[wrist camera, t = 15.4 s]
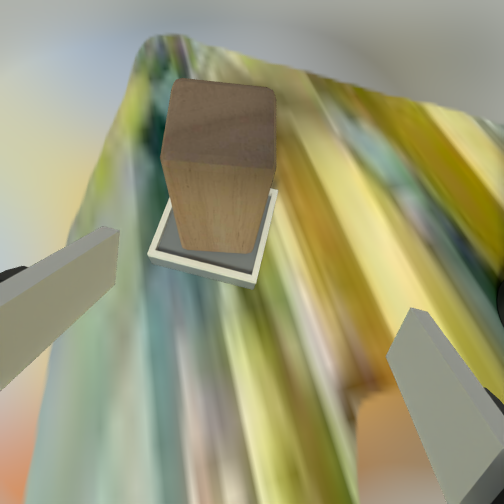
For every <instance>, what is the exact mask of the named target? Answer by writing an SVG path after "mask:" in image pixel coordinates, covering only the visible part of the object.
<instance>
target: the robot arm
mask: <svg viewBox="0 0 504 504" xmlns="http://www.w3.org/2000/svg"><path fill="white" fill-rule="evenodd" d="M119 234H120V230H116V229H113V228H109V227H105V226H102V227H100V228H98V229H97V230H95V231H93V232H91V233H89V234H88V235H86V236H84V237H82V238H80V239H79V240H77V241H75V242H73V243H71V244H70V245H68V246H66V247H64V248H62V249H61V250H59V251H57V252H55V253H53V254H52V255H50V256H48V257H46V258H45V259H43V260H41V261H39V262H37V263H35V264H34V265H32V266H30V267H25V266H21V267H17V268H13V269H9V270H6V271H4V272H2V273H0V391H1V390H2V389H3V388H5V387H6V386H7V385H8V384H9V383H10V382H11V381H12V380H13V379H14V378H15V377H16V376H17V375H18V374H20V373H21V372H22V371H23V370H24V369H25V368H26V367H27V366H28V365H29V364H30V363H31V362H32V361H33V360H35V359H36V358H37V357H38V356H39V355H40V354H41V353H42V352H43V351H44V350H45V349H46V348H47V347H48V346H50V345H51V344H52V343H53V342H54V341H55V340H56V339H57V338H58V337H59V336H60V335H61V334H62V333H63V332H65V331H66V330H67V329H68V328H69V327H70V326H71V325H72V324H73V323H74V322H75V321H76V320H77V319H78V318H80V317H81V316H82V315H83V314H84V313H85V312H86V311H87V310H88V309H89V308H90V307H91V306H92V305H94V304H95V303H96V302H97V301H98V300H99V299H100V298H101V297H102V296H103V295H104V294H105V293H106V292H107V291H109V290H110V289H111V288H112V287H113V286H114V285H115V279H116V268H117V257H118V245H119ZM497 304H498V311H499V315H500V318H501V321H502V323H503V326H504V281H503V282H502V284H501V286H500V288H499V291H498V297H497ZM386 358H387V360H388V363H389V365H390V368H391V370H392V372H393V375H394V377H395V380H396V382H397V384H398V387H399V389H400V392H401V394H402V396H403V399H404V401H405V403H406V406H407V408H408V411H409V413H410V415H411V418H412V420H413V423H414V425H415V427H416V430H417V432H418V434H419V437H420V439H421V442H422V444H423V446H424V449H425V451H426V454H427V456H428V459H429V461H430V463H431V466H432V468H433V470H434V473H435V475H436V478H437V480H438V482H439V485H440V487H441V489H442V492H443V494H444V497H445V499H446V501H447V504H504V405H503V403H502V402H501V401H500V400H499V399H498V398H497V397H496V396H495V395H493V394H492V393H491V392H490V391H489V390H488V389H487V388H484V387H483V386H482V385H481V384H480V382H479V381H478V380H477V378H476V377H475V376H474V374H473V373H472V372H471V370H470V369H469V367H468V366H467V365H466V363H465V362H464V361H463V359H462V358H461V357H460V355H459V354H458V353H457V351H456V350H455V348H454V347H453V346H452V344H451V343H450V342H449V340H448V339H447V338H446V336H445V335H444V333H443V332H442V331H441V329H440V328H439V327H438V325H437V324H436V323H435V321H434V320H433V319H432V317H431V316H430V314H429V313H428V312H426V311H422V310H419V309H415V308H411V307H410V309H409V311H408V313H407V315H406V317H405V319H404V321H403V323H402V325H401V327H400V329H399V331H398V333H397V335H396V337H395V339H394V341H393V343H392V345H391V347H390V349H389V351H388V353H387V355H386Z"/></svg>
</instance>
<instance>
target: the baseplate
mask: <svg viewBox="0 0 504 504" xmlns="http://www.w3.org/2000/svg"><path fill="white" fill-rule="evenodd" d="M277 194H278V190H276V189H272V188H270V192H269V195H268V199H267V203H266V206H265V210H264V213H263V217H262V220H261V224H260V227H259V231H258V235H257V238H256V242H255V245H254V248H253V250H252V252H251V253H247V254H241V253H226V252H210V251H195V250H186V249H184V248H182V245H181V242H180V238H179V234H178V229H177V225H176V221H175V217H174V213H173V209H172V205H171V200H170V198H169V200H168V203H167V205H166V208H165V210H164V213H163V215H162V218H161V221H160V223H159V226H158V228H157V231H156V233H155V236H154V238H153V241H152V243H151V246H150V248H149V251H148V253H147V254H148V256H149V258H150V260H151V262H152V264H155V265H159V266H163V267H167V268H171V269H175V270H179V271H182V272H186V273H190V274H194V275H198V276H202V277H206V278H209V279H213V280H217V281H221V282H225V283H229V284H233V285H237V286H240V287H244V288H248V289H252V290H253V289H254V287H255V284H256V281H257V277H258V273H259V269H260V264H261V260H262V256H263V252H264V248H265V244H266V240H267V235H268V231H269V227H270V223H271V219H272V215H273V210H274V206H275V202H276V198H277Z"/></svg>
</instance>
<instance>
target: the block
mask: <svg viewBox="0 0 504 504" xmlns="http://www.w3.org/2000/svg"><path fill="white" fill-rule="evenodd" d="M160 159H161V163H162V167H163V171H164V175H165V180H166V184H167V188H168V192H169V196H170V200H171V205H172V209H173V213H174V217H175V221H176V225H177V229H178V234H179V238H180V242H181V245H182V248H184V249H186V250H195V251H210V252H226V253H241V254H247V253H251V252H252V250H253V248H254V245H255V242H256V238H257V235H258V231H259V227H260V224H261V220H262V217H263V213H264V210H265V206H266V203H267V199H268V195H269V192H270V188H271V185H272V181H273V178H274V174H275V171H276V98H275V94H274V92H273V90H271V89H269V88H267V87H259V86H250V85H241V84H232V83H222V82H213V81H204V80H195V79H186V78H181V79H177V80H176V81H175V82H174V84H173V87H172V90H171V96H170V102H169V108H168V114H167V120H166V126H165V132H164V138H163V144H162V150H161V156H160Z"/></svg>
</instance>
